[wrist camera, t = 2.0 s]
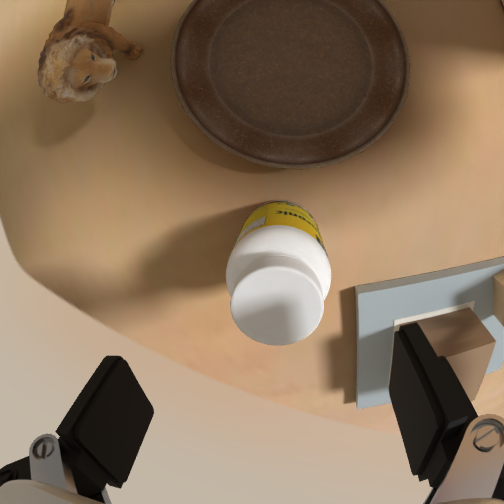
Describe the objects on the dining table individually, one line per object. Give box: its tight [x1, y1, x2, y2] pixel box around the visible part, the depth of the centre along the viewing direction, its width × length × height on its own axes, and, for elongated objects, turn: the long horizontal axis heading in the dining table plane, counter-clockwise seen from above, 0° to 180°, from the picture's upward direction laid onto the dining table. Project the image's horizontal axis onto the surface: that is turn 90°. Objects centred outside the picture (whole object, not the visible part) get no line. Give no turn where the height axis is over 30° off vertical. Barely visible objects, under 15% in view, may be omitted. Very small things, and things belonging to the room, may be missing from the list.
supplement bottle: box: [226, 200, 331, 345], centre depth 17 cm, size 5×5×10 cm
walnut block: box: [400, 307, 496, 401], centre depth 20 cm, size 7×7×5 cm
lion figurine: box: [38, 0, 142, 103], centre depth 12 cm, size 15×5×9 cm, turn 7°
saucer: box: [171, 0, 410, 169], centre depth 16 cm, size 15×15×3 cm
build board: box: [355, 257, 504, 409], centre depth 23 cm, size 18×14×1 cm
